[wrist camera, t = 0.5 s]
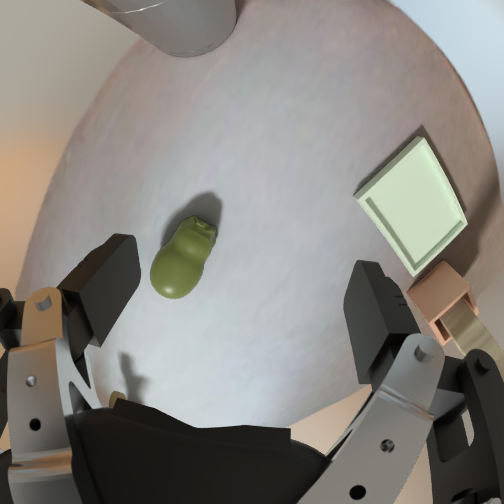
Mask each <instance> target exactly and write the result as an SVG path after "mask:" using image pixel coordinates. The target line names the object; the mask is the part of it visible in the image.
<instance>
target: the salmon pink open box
mask: <svg viewBox="0 0 504 504" xmlns="http://www.w3.org/2000/svg"><path fill="white" fill-rule="evenodd" d="M407 294H408V295H409V297H410V298H411V300H412V301H413V303H414V304H415V306H416V307H417V309H418V310H419V312H420V313H421V315H422V316H423V318H424V319H425V321H426V322H427V323H428V325H429V326H430V328H431V329H432V331H433V332H434V334H435V335H436V337H437V338H438V340H439V342H440V343H441V345H442V346H443V345H444V344H445V343H447V342H448V341H449V340H450V339H452V338H451V336H450V335H449V334H448V332H447V331H446V329H445V328H444V326H443V325H442V324H441V322H440V321H439V319H438V318H439V317H441V316H442V315H443V314H444V313H445V312H446V311H447V310H448V309H450V308H451V307H452V306H453V305H454V304H455V303H456V302H457V301H458V300H459V299H460V298H461V299H462V300H463V301H464V302H465V303H466V304H467V305H468V307H469V308H470V309H471V310H472V311H473V312H474V314H475V315H476V316H477V315H478V314H479V311H478V308H477V305H476V302H475V299H474V296H473V293H472V290H471V287H470V285H469V284H468V283H467V282H466V281H465V280H464V279H463V278H462V277H461V276H460V275H459V274H458V273H457V272H456V271H455V270H454V269H453V268H452V267H451V266H450V265H449V264H448V263H447V262H446V261H444V260H442V261H441V262H440V263H439V264H438V265H436V266H435V267H434V268H433V269H432V270H431V271H430V272H429V273H428V274H427V275H426V276H425V277H423V278H422V279H421V280H420V281H419V282H418V283H417V284H416V285H414V286H413V287H412V288H411V289H410V290H409V291H408V292H407Z"/></svg>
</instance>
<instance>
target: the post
mask: <svg viewBox="0 0 504 504" xmlns="http://www.w3.org/2000/svg"><path fill="white" fill-rule="evenodd" d="M438 319H439V321H440V322H441V324H442V325H443V326H444V328H445V329H446V331H447V332H448V334H449V335H450V336H451V338H452V339H453V341H454V342H455V344H456V345H457V347H458V348H459V350H460V351H461V353H462V354H463V356H464V357H465V356H466V355H467V353H468V352H469V351H470V350H472V349H481V350H483V351H485V352H487V353H488V354H489V355H490V356H491V357H492V358H493V359H494V361H495V363H496V365H497V367H498V369H499V372H500V374H501V376H502V379H503V381H504V351H503V349H502V348H501V347H500V345H499V344H498V343H497V341H496V340H495V339H494V337H493V336H492V335H491V334H490V332H489V331H488V330H487V328H486V327H485V326H484V325H483V323H482V322H481V321H480V320H479V318H478V317H477V316H476V315H475V314H474V312H473V311H472V310H471V309H470V308H469V307H468V305H467V304H466V303H465V302H464V301H463V300H462V299H461V298H460V299H459V300H458V301H457V302H456V303H455V304H454V305H453V306H452V307H451V308H450V309H448V310H447V311H446V312H445V313H444V314H443V315H442V316H441V317H439V318H438Z"/></svg>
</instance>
